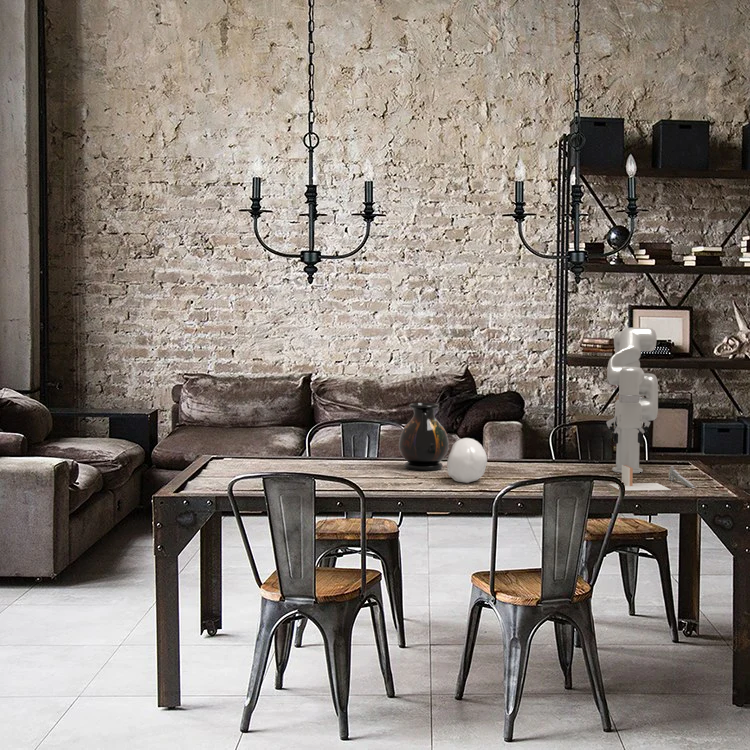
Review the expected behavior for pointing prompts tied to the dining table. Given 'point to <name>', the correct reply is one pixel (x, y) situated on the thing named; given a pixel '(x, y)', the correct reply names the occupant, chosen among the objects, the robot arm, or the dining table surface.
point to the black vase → (423, 439)
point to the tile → (627, 475)
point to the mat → (643, 486)
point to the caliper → (678, 477)
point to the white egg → (466, 460)
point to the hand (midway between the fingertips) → (627, 443)
